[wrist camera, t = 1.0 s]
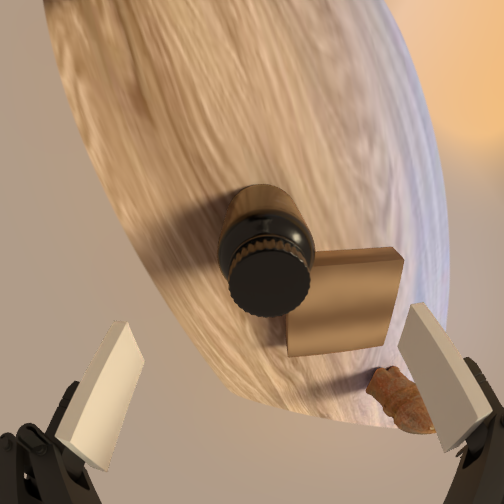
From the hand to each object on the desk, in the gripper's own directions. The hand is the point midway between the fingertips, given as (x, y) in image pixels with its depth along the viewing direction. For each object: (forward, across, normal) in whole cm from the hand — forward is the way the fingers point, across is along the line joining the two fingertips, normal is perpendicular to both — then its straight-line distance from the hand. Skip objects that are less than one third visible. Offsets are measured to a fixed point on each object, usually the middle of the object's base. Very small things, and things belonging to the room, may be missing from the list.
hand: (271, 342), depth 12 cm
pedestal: (+16, +8, -10) cm, 21 cm away
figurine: (+17, +19, -25) cm, 35 cm away
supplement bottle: (+16, 0, 0) cm, 17 cm away
